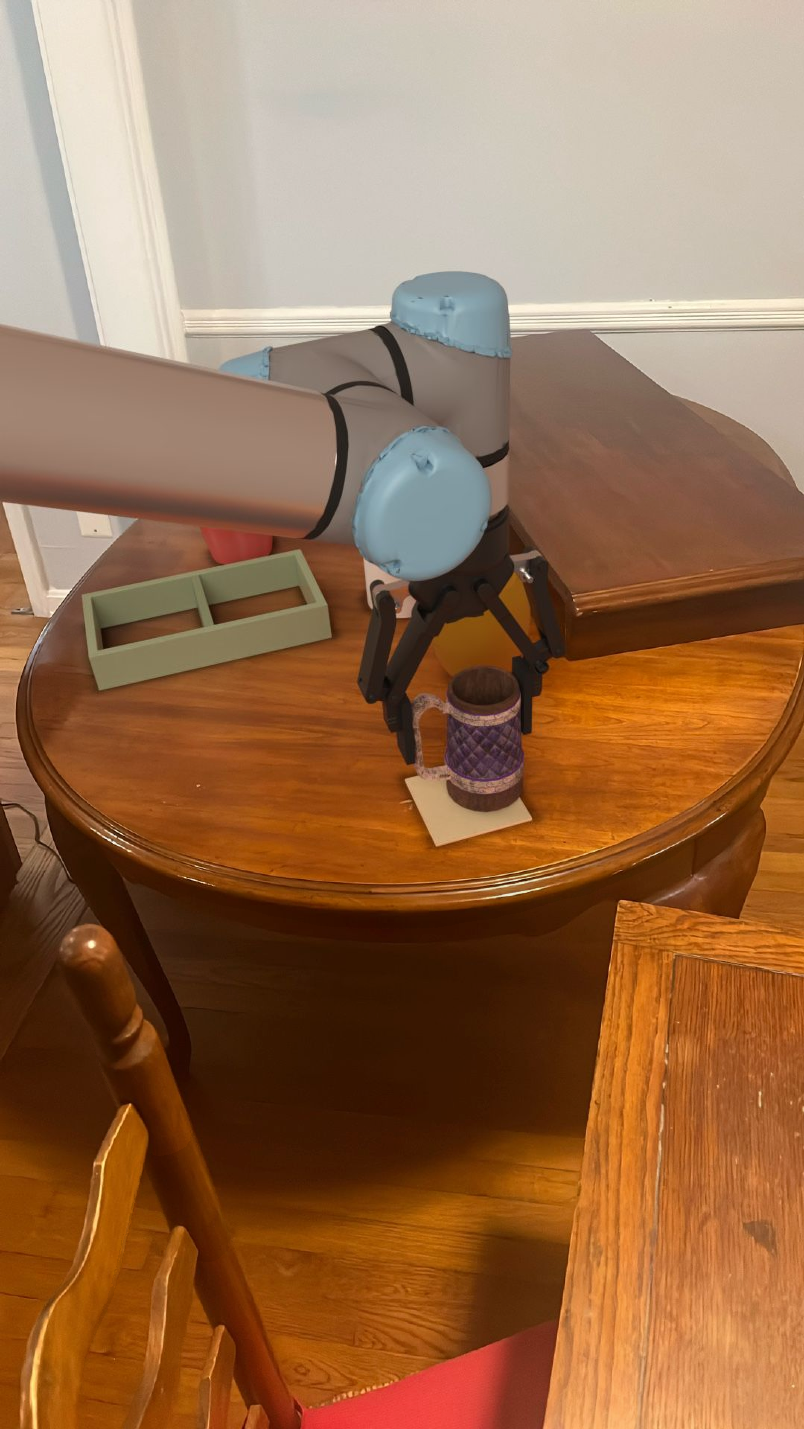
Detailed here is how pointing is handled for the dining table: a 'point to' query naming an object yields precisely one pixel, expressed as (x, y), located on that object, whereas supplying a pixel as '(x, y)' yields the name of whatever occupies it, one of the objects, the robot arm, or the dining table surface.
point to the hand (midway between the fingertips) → (464, 739)
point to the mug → (477, 738)
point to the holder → (203, 618)
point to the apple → (483, 635)
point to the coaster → (458, 813)
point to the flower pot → (236, 545)
